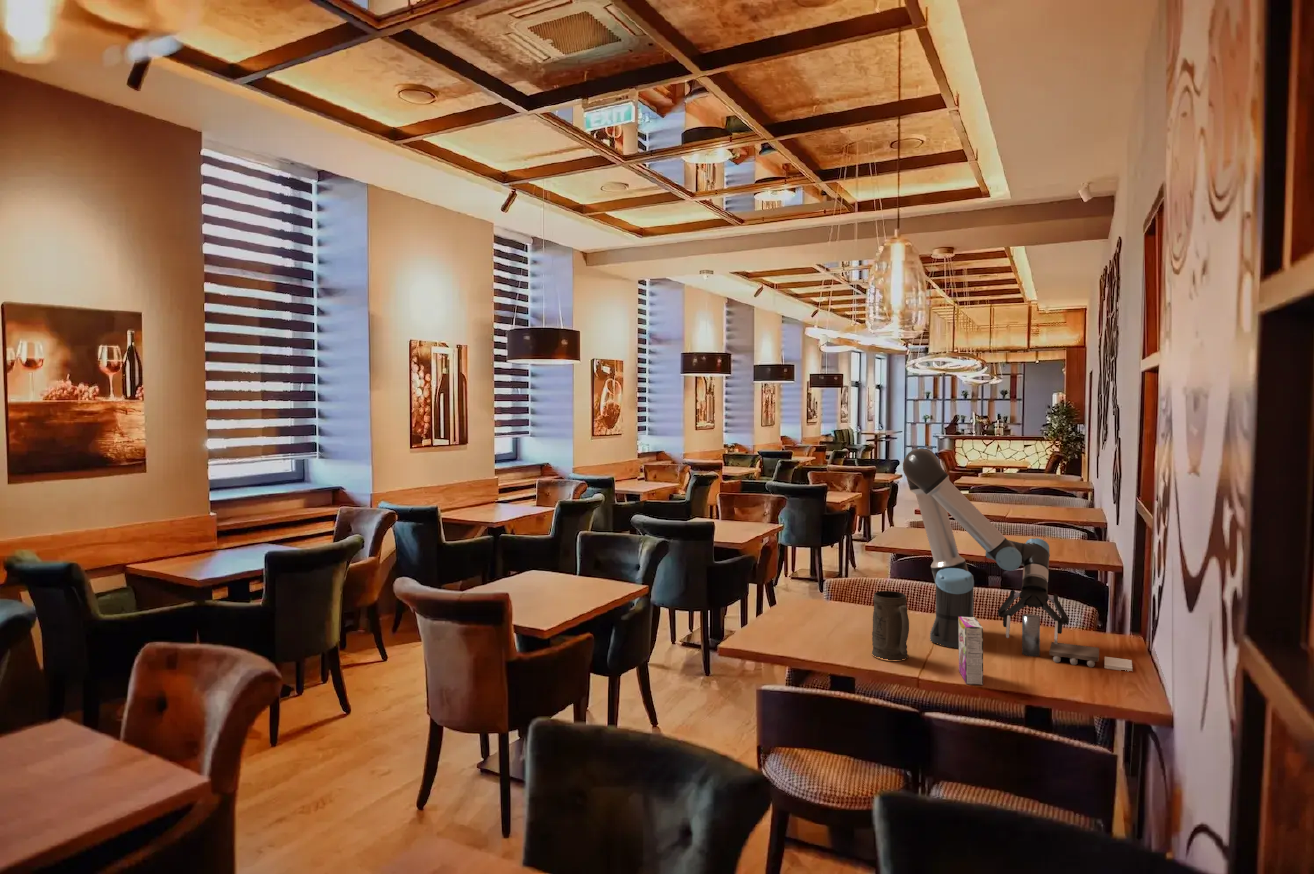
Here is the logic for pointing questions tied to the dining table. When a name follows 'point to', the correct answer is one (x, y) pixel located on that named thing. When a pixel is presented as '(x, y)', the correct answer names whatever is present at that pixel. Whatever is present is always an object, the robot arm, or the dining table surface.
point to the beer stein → (890, 625)
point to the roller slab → (1074, 653)
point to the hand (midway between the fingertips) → (1031, 638)
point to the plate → (1118, 664)
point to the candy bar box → (970, 650)
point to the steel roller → (1031, 635)
